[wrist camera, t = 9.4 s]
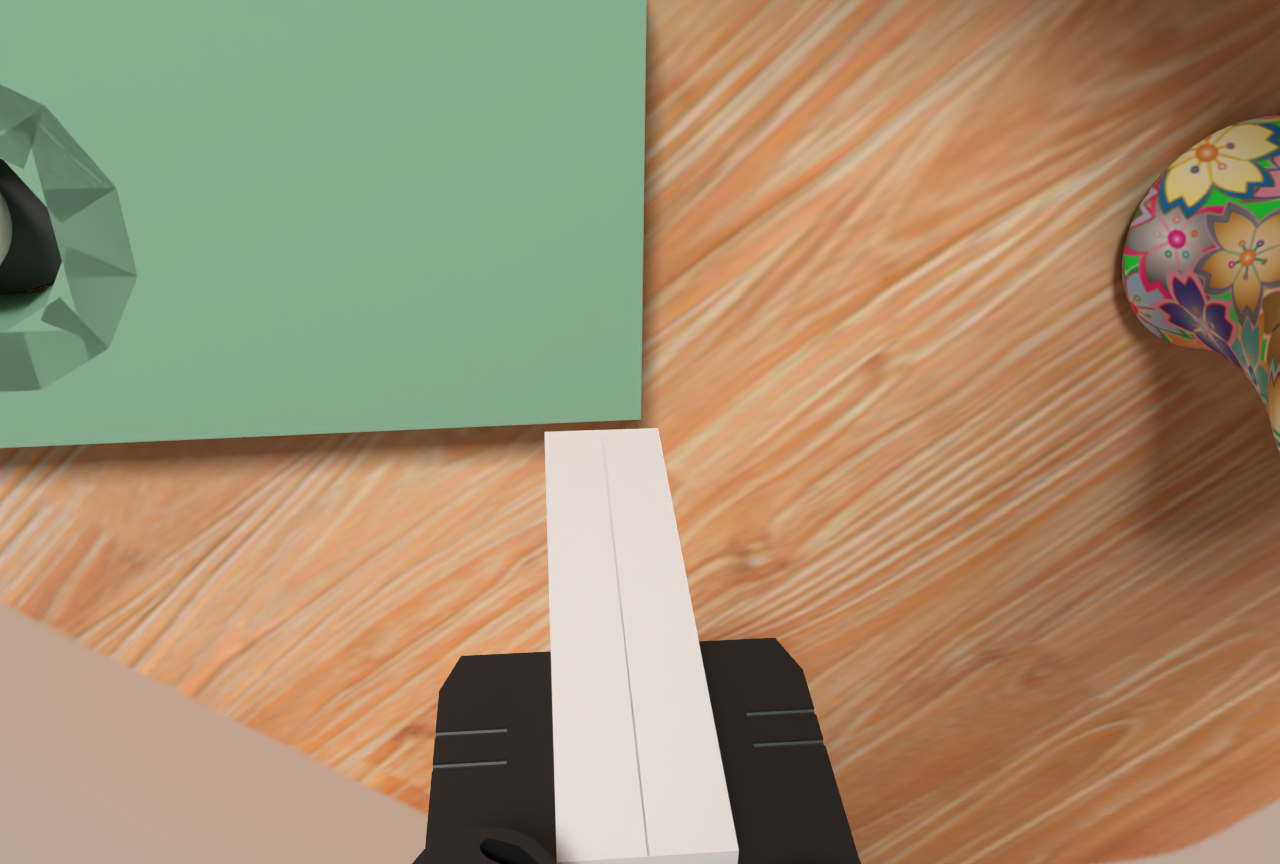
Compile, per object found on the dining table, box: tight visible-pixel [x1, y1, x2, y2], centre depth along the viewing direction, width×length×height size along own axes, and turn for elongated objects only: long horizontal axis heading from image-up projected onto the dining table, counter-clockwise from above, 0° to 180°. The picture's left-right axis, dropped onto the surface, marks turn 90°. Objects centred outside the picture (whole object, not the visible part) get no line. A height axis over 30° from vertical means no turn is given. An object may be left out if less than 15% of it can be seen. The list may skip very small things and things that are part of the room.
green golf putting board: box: [0, 0, 647, 448], centre depth 32 cm, size 14×26×5 cm, turn 89°
